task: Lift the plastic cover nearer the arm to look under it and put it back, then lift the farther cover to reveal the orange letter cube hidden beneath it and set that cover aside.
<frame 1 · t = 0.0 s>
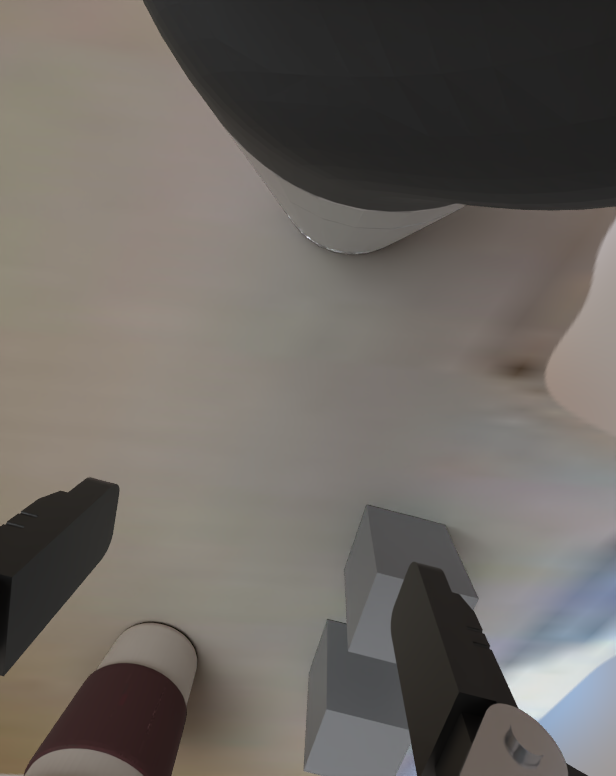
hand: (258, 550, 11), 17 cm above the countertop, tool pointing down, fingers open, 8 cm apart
cover b: (352, 655, 33), on the countertop
coffee cup: (158, 651, 35), on the countertop
cover a: (393, 548, 30), on the countertop
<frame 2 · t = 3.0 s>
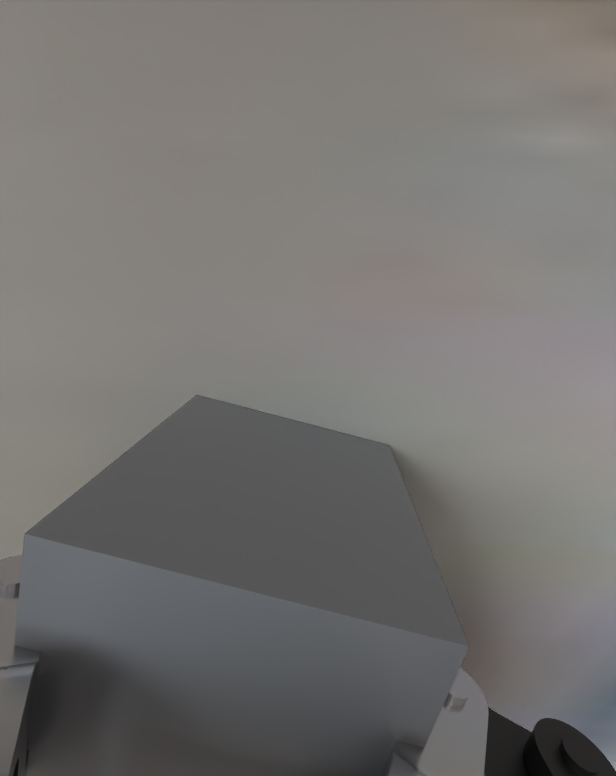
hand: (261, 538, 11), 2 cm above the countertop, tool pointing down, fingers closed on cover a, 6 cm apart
cover a: (270, 506, 13), on the countertop, touching gripper
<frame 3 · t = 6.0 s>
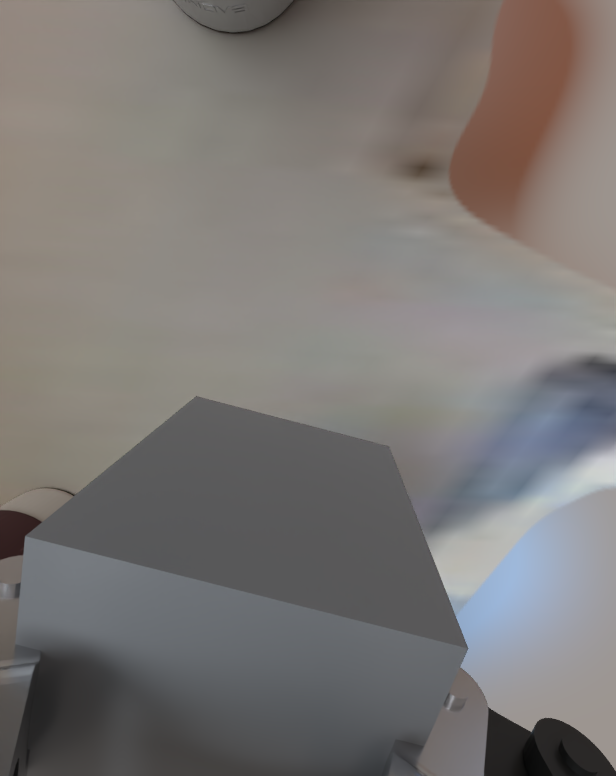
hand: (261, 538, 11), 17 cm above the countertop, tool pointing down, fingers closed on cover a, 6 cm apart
coffee cup: (57, 525, 32), on the countertop
cover a: (270, 507, 13), point 16 cm above the countertop, touching gripper
when the fingers open (3 cm above the countertop, at t = 9.2 s): cover a stays where it is, on the countertop.
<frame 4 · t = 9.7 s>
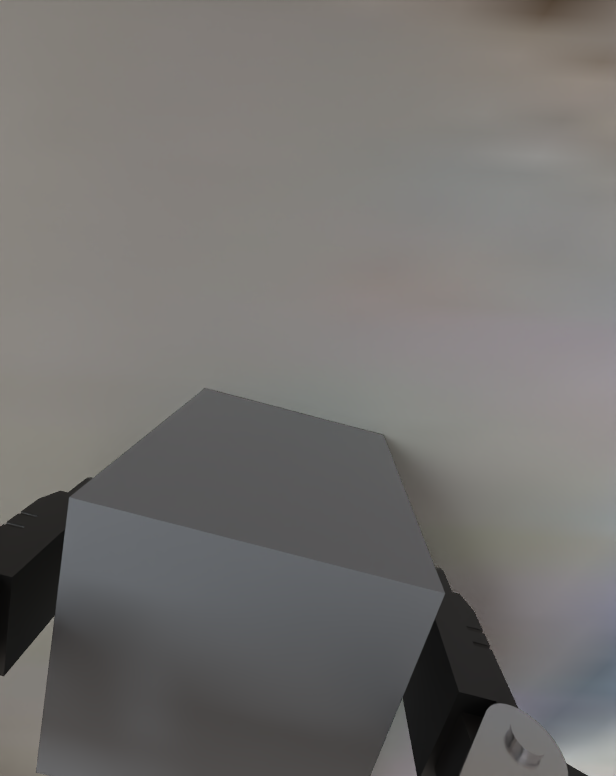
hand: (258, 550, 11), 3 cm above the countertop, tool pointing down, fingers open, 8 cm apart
cover a: (273, 492, 14), on the countertop
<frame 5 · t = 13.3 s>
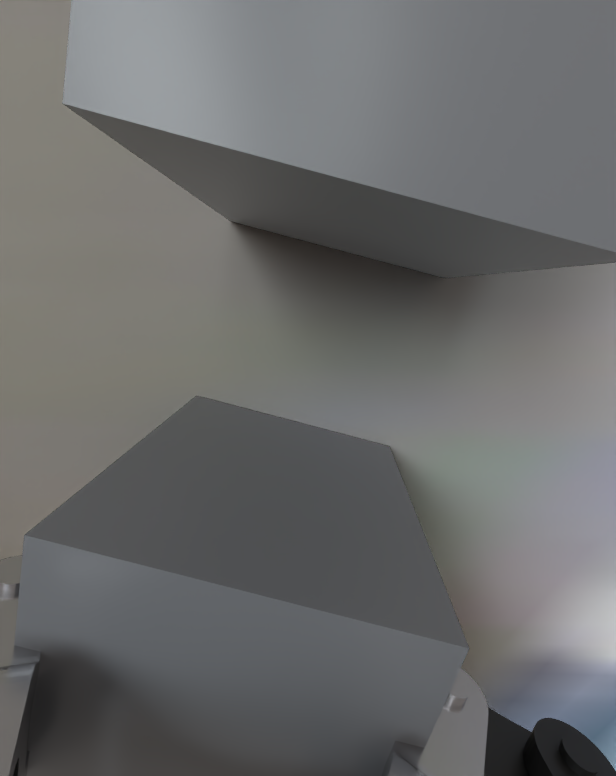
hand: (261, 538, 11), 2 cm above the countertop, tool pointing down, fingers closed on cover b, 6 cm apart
cover b: (270, 507, 13), on the countertop, touching gripper
cover a: (369, 127, 10), on the countertop
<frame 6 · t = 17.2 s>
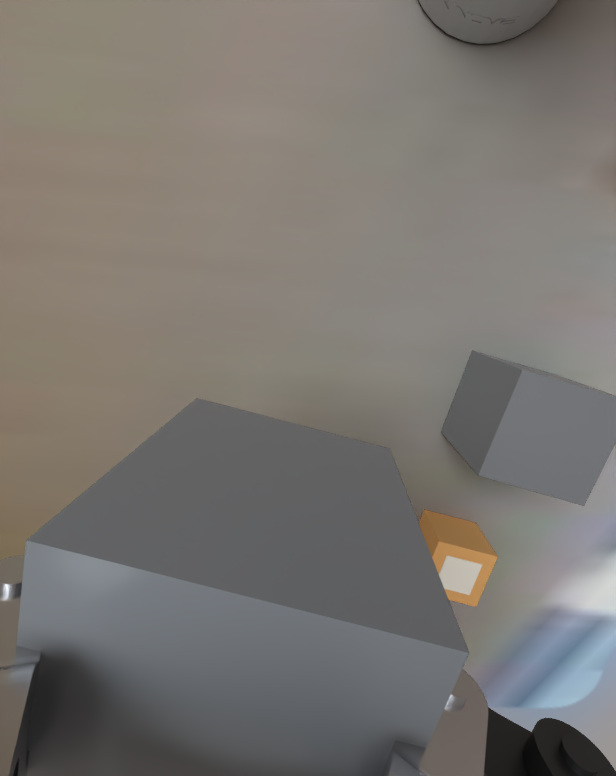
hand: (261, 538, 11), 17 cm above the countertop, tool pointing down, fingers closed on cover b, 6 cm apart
letter cube: (448, 555, 28), on the countertop
cover b: (270, 509, 13), point 16 cm above the countertop, touching gripper
cover a: (497, 404, 28), on the countertop
when the fingers open (3 cm above the countertop, at t = 20.9 s): cover b stays where it is, on the countertop.
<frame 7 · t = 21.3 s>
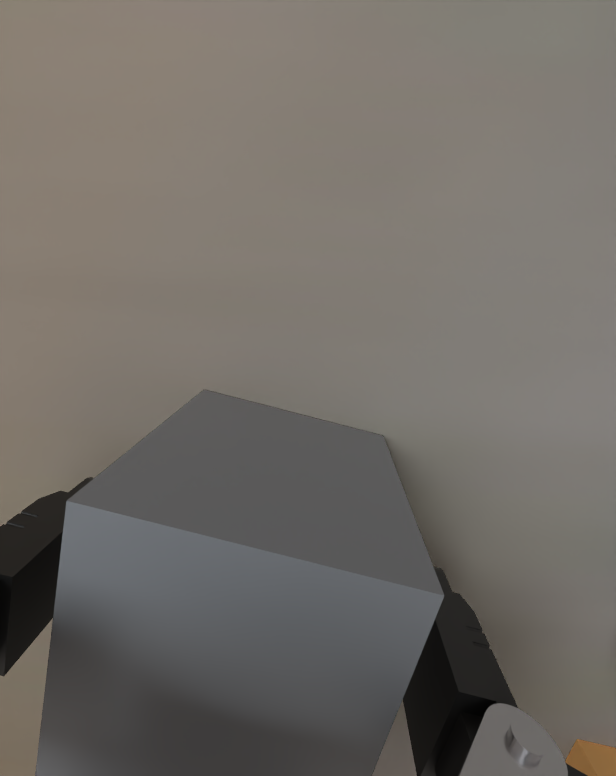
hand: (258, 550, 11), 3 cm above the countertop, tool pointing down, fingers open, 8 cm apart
cover b: (273, 493, 14), on the countertop
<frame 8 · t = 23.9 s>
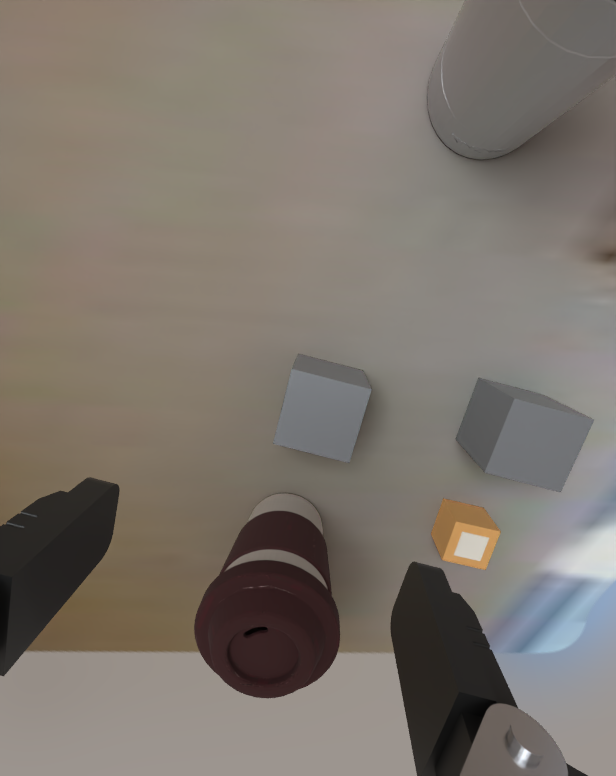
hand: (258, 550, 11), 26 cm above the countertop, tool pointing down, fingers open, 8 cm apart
letter cube: (463, 532, 37), on the countertop
cover b: (322, 393, 36), on the countertop
coffee cup: (286, 522, 40), on the countertop
cover a: (498, 417, 36), on the countertop
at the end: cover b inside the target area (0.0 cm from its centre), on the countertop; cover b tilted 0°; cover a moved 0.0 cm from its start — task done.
